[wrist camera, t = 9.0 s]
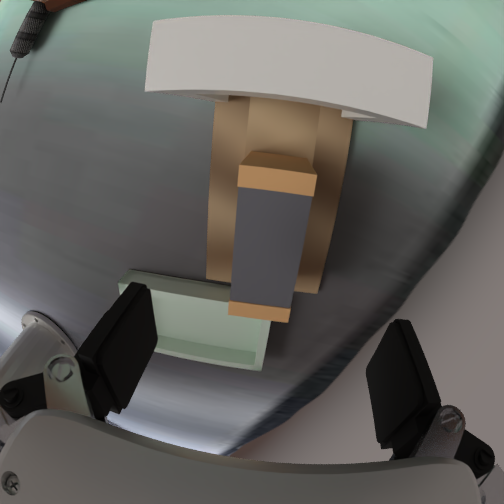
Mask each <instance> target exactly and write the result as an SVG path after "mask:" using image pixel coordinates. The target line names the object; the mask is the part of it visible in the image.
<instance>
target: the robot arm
mask: <svg viewBox="0 0 504 504" xmlns="http://www.w3.org/2000/svg"><path fill="white" fill-rule="evenodd" d="M21 323H22V328H23V331H22V332H21V333H20V335H19V336H18V337H17V338H16V339H15V340H14V342H13V343H12V344H11V345H10V347H9V348H8V349H7V350H6V351H5V353H4V354H3V355H2V356H1V358H0V504H504V472H503V471H502V469H501V468H500V467H499V465H498V464H496V465H495V466H494V462H495V456H494V452H493V450H492V448H491V447H490V446H489V445H487V444H486V443H484V442H483V441H481V440H480V439H478V438H477V437H476V436H474V435H473V434H471V433H469V432H468V431H467V430H465V424H466V423H465V417H464V415H463V413H462V412H461V411H460V410H459V409H458V408H457V407H455V406H452V405H445V406H441V403H440V402H441V399H440V396H439V393H438V390H437V388H436V385H435V382H434V379H433V376H432V374H431V371H430V368H429V366H428V363H427V360H426V358H425V355H424V353H423V350H422V348H421V345H420V343H419V341H418V338H417V336H416V333H415V331H414V329H413V326H412V324H411V322H410V321H409V320H403V319H395V320H394V322H392V323H390V324H389V326H388V328H387V330H386V332H385V334H384V336H383V338H382V340H381V342H380V344H379V345H378V348H377V350H376V351H375V353H374V355H373V356H372V358H371V360H370V362H369V364H368V366H367V368H366V377H367V382H368V388H369V393H370V399H371V405H372V411H373V417H374V423H375V431H376V438H377V442H378V443H380V444H381V449H388V448H393V455H392V456H391V458H390V459H389V461H382V462H370V463H356V464H291V463H276V462H265V461H256V460H247V459H240V458H233V457H228V456H222V455H217V454H211V453H206V452H202V451H197V450H192V449H188V448H184V447H180V446H176V445H172V444H169V443H165V442H162V441H158V440H155V439H152V438H148V437H145V436H142V435H139V434H136V433H133V432H130V431H127V430H124V429H121V428H118V427H116V426H113V425H110V424H109V423H108V420H107V417H106V416H107V415H108V413H109V411H112V412H115V413H117V414H120V412H121V410H122V408H123V409H125V408H126V407H127V406H128V404H129V402H130V399H131V397H132V395H133V393H134V391H135V389H136V387H137V385H138V382H139V380H140V378H141V376H142V374H143V372H144V370H145V368H146V366H147V364H148V362H149V360H150V358H151V356H152V354H153V352H154V350H155V348H156V345H157V342H158V335H157V329H156V323H155V317H154V310H153V303H152V296H151V290H150V289H148V288H147V286H146V284H142V283H137V282H131V283H130V284H129V285H128V286H127V288H126V289H125V290H124V291H123V293H122V294H121V295H120V297H119V298H118V299H117V300H116V302H115V303H114V304H113V306H112V307H111V308H110V310H108V311H107V312H106V313H105V314H104V315H103V317H102V318H101V319H100V321H99V322H98V323H97V325H96V326H95V328H94V329H93V330H92V332H91V333H90V334H89V336H88V337H87V339H86V340H85V341H84V343H83V344H82V346H81V347H80V348H79V350H78V351H77V349H76V348H75V346H74V345H73V343H72V342H71V340H70V339H69V338H68V337H67V335H66V334H65V333H64V332H63V331H62V330H61V329H60V328H59V327H58V326H57V325H56V324H55V323H53V322H52V321H51V320H49V319H48V318H47V317H45V316H43V315H42V314H40V313H37V312H33V311H29V312H27V313H26V314H25V315H24V316H23V317H22V322H21Z"/></svg>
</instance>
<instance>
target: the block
mask: <svg viewBox="0 0 504 504" xmlns="http://www.w3.org/2000/svg"><path fill="white" fill-rule="evenodd" d="M316 179H317V174H316V172H315V171H314V169H313V167H312V166H311V164H310V162H309V161H308V159H307V158H301V157H294V156H287V155H280V154H272V153H263V152H255V151H251V152H250V153H249V154H248V155H247V156H246V158H245V159H244V160H243V161H242V162H241V163H240V164H239V173H238V184H237V187H238V198H237V210H236V222H235V235H234V248H233V262H232V276H231V290H230V298H229V306H228V315H233V316H240V317H247V318H254V319H262V320H269V321H277V322H286V323H288V320H289V315H290V311H291V302H292V298H293V293H294V289H295V284H296V279H297V274H298V270H299V265H300V260H301V255H302V250H303V245H304V240H305V235H306V229H307V224H308V218H309V213H310V207H311V202H312V196H313V197H314V191H315V185H316Z"/></svg>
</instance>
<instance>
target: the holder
mask: <svg viewBox="0 0 504 504" xmlns="http://www.w3.org/2000/svg"><path fill="white" fill-rule="evenodd" d="M341 114H342V110H341V109H336V108H331V107H325V106H320V105H314V104H308V103H302V102H295V101H288V100H280V99H271V98H262V97H251V96H237V95H229V97H228V102H215V113H214V125H213V138H212V152H211V167H210V185H209V205H208V231H207V271H206V279H210V280H217V281H224V282H231V276H232V262H233V248H234V235H235V222H236V210H237V198H238V187H237V184H238V173H239V164H240V163H241V162H242V161H243V160H244V159H245V158H246V156H247V155H248V154H249V153H250V152H251V151H255V152H263V153H272V154H280V155H287V156H294V157H301V158H307V159H308V161H309V162H310V164H311V166H312V167H313V169H314V171H315V172H316V174H317V179H316V185H315V191H314V197H313V196H312V202H311V207H310V213H309V218H308V224H307V229H306V235H305V240H304V245H303V250H302V255H301V260H300V265H299V270H298V274H297V279H296V284H295V289H294V291H298V292H306V293H315V294H317V292H318V289H319V285H320V281H321V277H322V273H323V269H324V265H325V261H326V257H327V253H328V249H329V245H330V241H331V236H332V232H333V228H334V223H335V218H336V214H337V209H338V204H339V199H340V194H341V189H342V184H343V179H344V173H345V168H346V162H347V156H348V150H349V144H350V138H351V131H352V124H353V119H348V118H344V117H341Z"/></svg>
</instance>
